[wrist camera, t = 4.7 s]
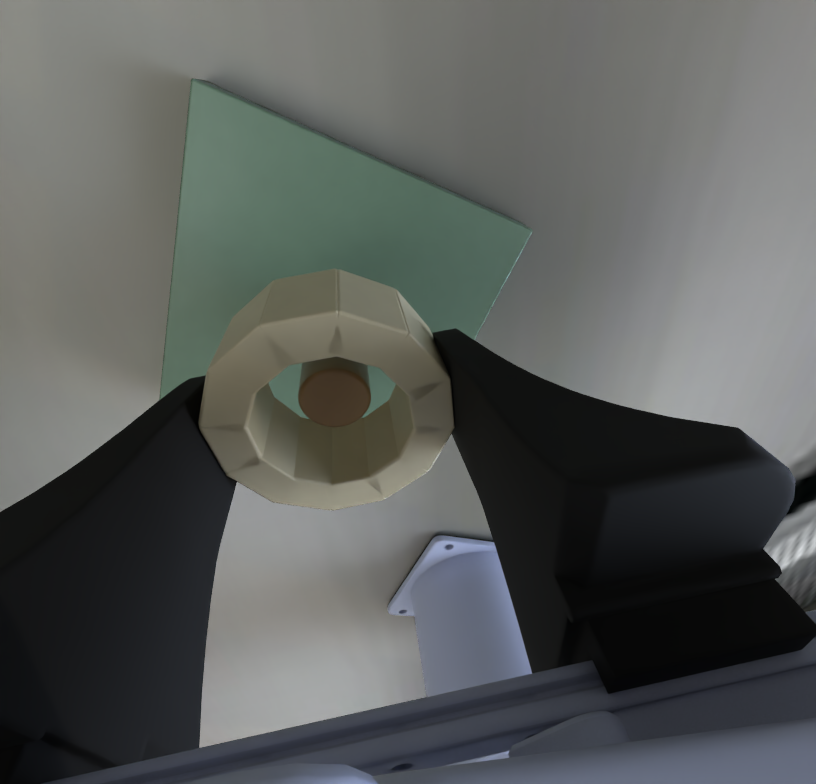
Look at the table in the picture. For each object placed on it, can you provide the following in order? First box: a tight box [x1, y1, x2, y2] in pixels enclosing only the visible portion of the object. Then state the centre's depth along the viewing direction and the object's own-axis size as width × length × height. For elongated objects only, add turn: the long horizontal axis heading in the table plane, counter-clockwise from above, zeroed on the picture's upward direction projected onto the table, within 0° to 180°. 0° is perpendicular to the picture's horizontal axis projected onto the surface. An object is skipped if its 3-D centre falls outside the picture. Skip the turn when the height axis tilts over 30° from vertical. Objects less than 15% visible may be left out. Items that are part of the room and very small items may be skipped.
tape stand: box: [159, 79, 532, 427], centre depth 12 cm, size 10×10×6 cm
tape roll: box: [198, 269, 455, 511], centre depth 10 cm, size 6×6×2 cm
